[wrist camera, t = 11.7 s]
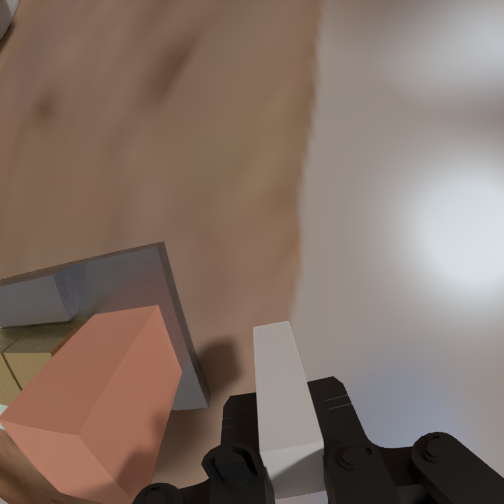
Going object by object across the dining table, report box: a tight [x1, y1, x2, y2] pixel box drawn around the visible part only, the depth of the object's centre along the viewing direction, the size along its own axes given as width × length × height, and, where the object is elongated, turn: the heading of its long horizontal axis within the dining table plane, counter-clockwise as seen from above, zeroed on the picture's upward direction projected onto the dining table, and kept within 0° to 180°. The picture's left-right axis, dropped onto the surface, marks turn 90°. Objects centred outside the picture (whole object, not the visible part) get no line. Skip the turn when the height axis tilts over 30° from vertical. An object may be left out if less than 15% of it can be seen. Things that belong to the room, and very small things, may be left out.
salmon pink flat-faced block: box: [0, 305, 182, 504], centre depth 10 cm, size 4×4×9 cm
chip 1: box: [0, 324, 37, 406], centre depth 13 cm, size 4×4×4 cm
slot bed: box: [0, 242, 210, 411], centre depth 15 cm, size 14×10×3 cm
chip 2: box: [4, 317, 88, 389], centre depth 13 cm, size 4×4×4 cm
